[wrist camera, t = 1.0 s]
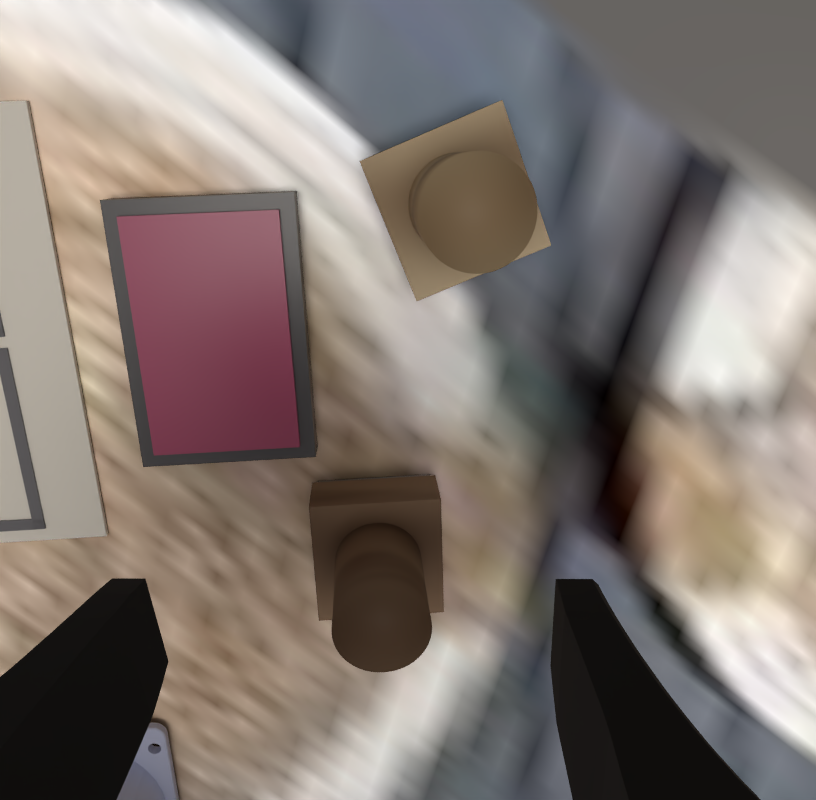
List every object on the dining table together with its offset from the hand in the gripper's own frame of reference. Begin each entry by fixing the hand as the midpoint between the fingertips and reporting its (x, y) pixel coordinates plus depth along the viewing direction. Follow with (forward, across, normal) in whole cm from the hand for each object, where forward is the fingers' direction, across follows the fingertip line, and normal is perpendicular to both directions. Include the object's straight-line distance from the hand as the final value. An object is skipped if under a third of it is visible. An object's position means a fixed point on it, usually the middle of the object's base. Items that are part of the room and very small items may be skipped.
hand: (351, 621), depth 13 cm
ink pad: (+14, +6, 0) cm, 15 cm away
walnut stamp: (+13, +1, +8) cm, 15 cm away
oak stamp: (+15, -2, -4) cm, 16 cm away
